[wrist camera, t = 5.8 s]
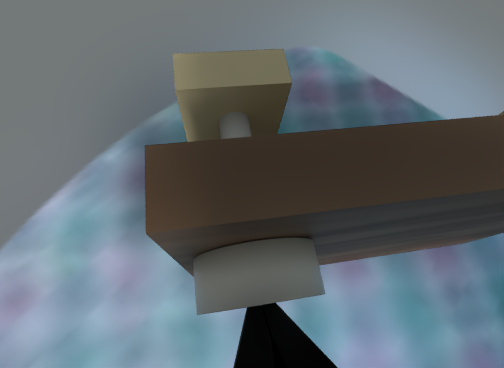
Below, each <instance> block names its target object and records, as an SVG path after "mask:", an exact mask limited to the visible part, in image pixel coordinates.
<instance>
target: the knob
mask: <svg viewBox="0 0 504 368" xmlns="http://www.w3.org/2000/svg"><path fill="white" fill-rule="evenodd" d="M173 62H174V77H175V78H174V79H175V91H176V95H177V100H178V104H179V108H180V112H181V117H182V121H183V125H184V129H185V134H186V138H187V142H193V141H204V140H216V139H228V138H239V137H251V136H263V135H274V134H277V133H278V129H279V126H280V122H281V119H282V116H283V112H284V109H285V105H286V102H287V99H288V95H289V92H290V88H291V85H292V80H291V76H290V72H289V68H288V65H287V61H286V57H285V53H284V49H269V50H250V51H249V50H248V51H225V52H204V53H181V54H173ZM193 268H194V282H195V296H196V310H197V315H200V314H207V313H214V312H220V311H227V310H233V309H240V308H246V307H252V306H258V305H264V304H270V303H276V302H282V301H288V300H294V299H300V298H306V297H311V296H317V295H322V294H325V290H324V286H323V282H322V277H321V273H320V269H319V264H318V260H317V256H316V251H315V247H314V243H313V240H311V239H307V238H276V239H266V240H259V241H252V242H246V243H240V244H235V245H231V246H226V247H222V248H218V249H215V250H211V251H208V252H205V253H203V254H200V255H198V256H197V257H195V258H194V259H193Z"/></svg>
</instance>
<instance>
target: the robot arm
mask: <svg viewBox="0 0 504 368" xmlns="http://www.w3.org/2000/svg"><path fill="white" fill-rule="evenodd" d="M233 368H337V367H336V365H335V364H334V363H333V362H332V361H331V360H330V359H329V358H328V357H327V356H326V355H325V354H324V353H323V352H322V351H321V350H320V349H319V348H318V347H317V346H316V345H315V343H314V342H313V341H312V340H311V339H310V338H309V337H308V336H307V335H306V334H305V333H304V332H303V331H302V330H301V329H300V328H299V327H298V326H297V325H296V324H295V322H294V321H293V320H292V319H291V318H290V317H289V316H288V315H287V314H286V313H285V312H284V311H283V310H282V309H281V308H280V307H279V306H278V305H277V304H276V303H270V304H264V305H258V306H252V307H247V310H246V314H245V319H244V323H243V327H242V332H241V336H240V341H239V345H238V350H237V354H236V359H235V363H234V367H233Z"/></svg>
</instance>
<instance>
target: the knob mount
mask: <svg viewBox="0 0 504 368" xmlns="http://www.w3.org/2000/svg"><path fill="white" fill-rule="evenodd" d="M145 195H146V234H147V235H148V236H149V237H150V238H151V239H152V240H153V241H155V242H156V243H157V244H158V245H159V246H160V247H161V248H162V249H163V250H164V251H166V252H167V253H168V254H169V255H170V256H171V257H172V258H173V259H174V260H176V261H177V262H178V263H179V264H180V265H181V266H182V267H183V268H184V269H185V270H187V271H188V272H189V273H190V274H191V275H192V276H193V277H194V268H193V259H194V258H195V257H197V256H198V255H200V254H203V253H205V252H208V251H211V250H215V249H218V248H222V247H226V246H231V245H235V244H240V243H246V242H252V241H259V240H266V239H276V238H307V239H311V240H313V243H314V247H315V251H316V256H317V260H318V264H319V265H324V264H330V263H337V262H344V261H350V260H357V259H363V258H370V257H377V256H383V255H390V254H397V253H403V252H410V251H417V250H423V249H430V248H436V247H443V246H450V245H456V244H463V243H467V242H470V241H474V240H478V239H482V238H485V237H489V236H493V235H497V234H500V233H504V115H496V116H485V117H473V118H461V119H449V120H438V121H426V122H414V123H403V124H391V125H379V126H368V127H356V128H344V129H333V130H321V131H309V132H298V133H286V134H274V135H263V136H251V137H239V138H228V139H216V140H204V141H193V142H181V143H169V144H158V145H146V146H145Z"/></svg>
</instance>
